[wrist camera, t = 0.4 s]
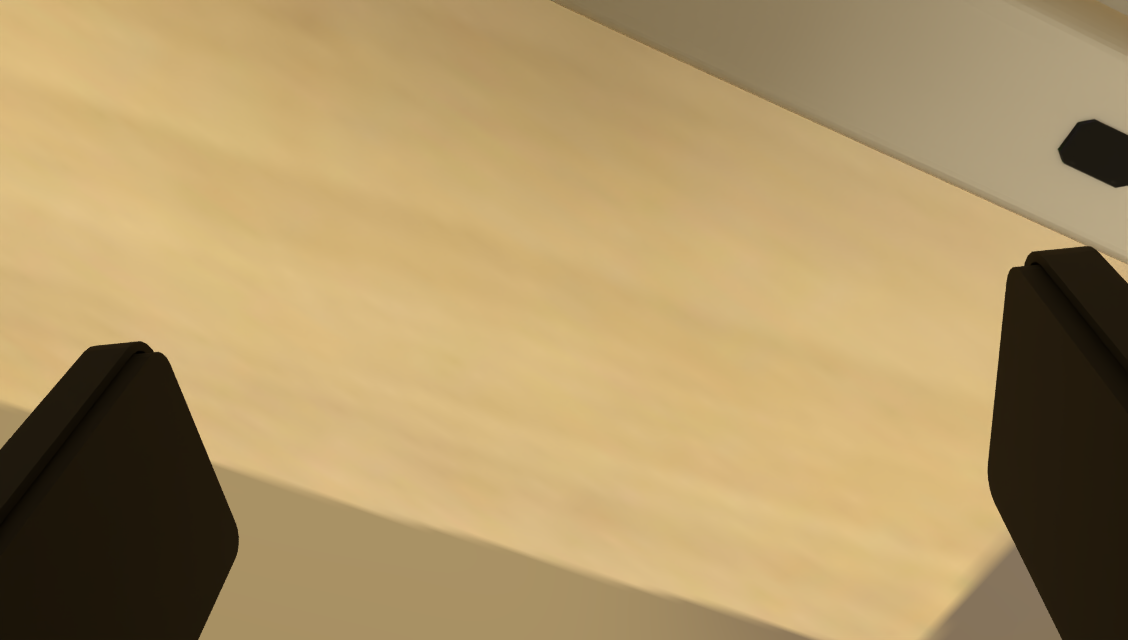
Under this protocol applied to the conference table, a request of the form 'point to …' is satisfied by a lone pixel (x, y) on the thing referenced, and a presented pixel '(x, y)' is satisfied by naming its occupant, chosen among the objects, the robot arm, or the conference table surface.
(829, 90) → the wireless router
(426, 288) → the conference table surface
